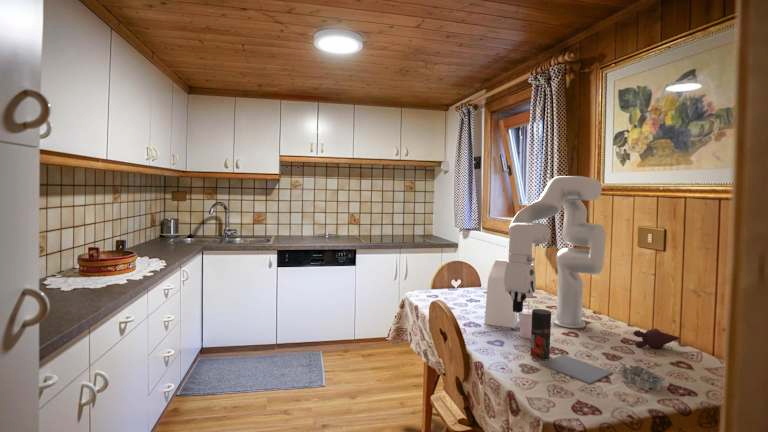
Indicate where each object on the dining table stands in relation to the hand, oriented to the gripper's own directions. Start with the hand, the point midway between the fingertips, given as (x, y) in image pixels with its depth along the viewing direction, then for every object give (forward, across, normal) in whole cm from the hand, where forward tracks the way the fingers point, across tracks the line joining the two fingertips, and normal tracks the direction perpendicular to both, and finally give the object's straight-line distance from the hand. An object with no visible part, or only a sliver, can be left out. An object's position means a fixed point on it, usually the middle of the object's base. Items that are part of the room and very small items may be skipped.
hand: (517, 311), depth 142 cm
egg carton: (+13, -36, -9) cm, 40 cm away
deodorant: (+13, -9, -1) cm, 16 cm away
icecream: (+12, -27, -43) cm, 52 cm away
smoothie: (+13, +5, -13) cm, 19 cm away
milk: (+13, +22, -20) cm, 32 cm away
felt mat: (+13, -21, -1) cm, 25 cm away
